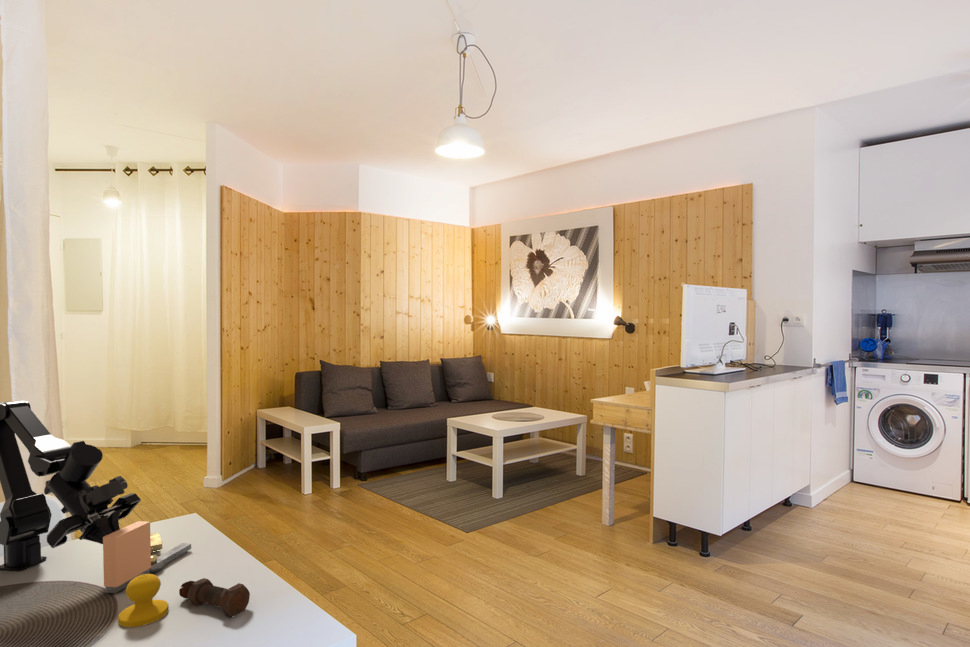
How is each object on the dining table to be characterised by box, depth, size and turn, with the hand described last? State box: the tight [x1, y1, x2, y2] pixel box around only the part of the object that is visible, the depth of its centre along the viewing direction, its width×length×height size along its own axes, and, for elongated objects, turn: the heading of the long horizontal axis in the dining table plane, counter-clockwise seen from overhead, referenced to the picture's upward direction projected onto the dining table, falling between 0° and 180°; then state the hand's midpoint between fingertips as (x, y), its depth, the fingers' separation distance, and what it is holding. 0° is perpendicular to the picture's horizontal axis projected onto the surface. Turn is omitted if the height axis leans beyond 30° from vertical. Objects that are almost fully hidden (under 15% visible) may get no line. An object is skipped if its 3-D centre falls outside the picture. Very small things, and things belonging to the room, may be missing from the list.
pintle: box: [151, 554, 158, 564], centre depth 122 cm, size 2×2×1 cm
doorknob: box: [117, 573, 170, 628], centre depth 103 cm, size 8×8×8 cm
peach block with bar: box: [102, 520, 192, 594], centre depth 122 cm, size 4×22×11 cm, turn 170°
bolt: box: [178, 577, 251, 618], centre depth 107 cm, size 6×5×15 cm
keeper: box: [150, 532, 163, 553], centre depth 131 cm, size 9×5×4 cm, turn 35°
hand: (121, 547), depth 117 cm, fingers closed
